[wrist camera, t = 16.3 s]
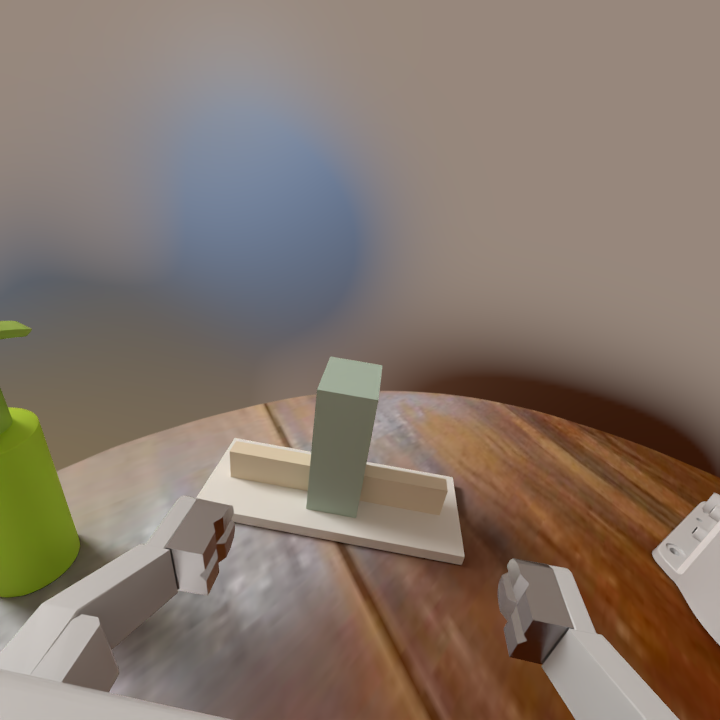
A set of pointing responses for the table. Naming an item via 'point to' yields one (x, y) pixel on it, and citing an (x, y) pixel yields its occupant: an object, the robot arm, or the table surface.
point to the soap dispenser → (30, 501)
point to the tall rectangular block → (342, 435)
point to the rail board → (369, 529)
